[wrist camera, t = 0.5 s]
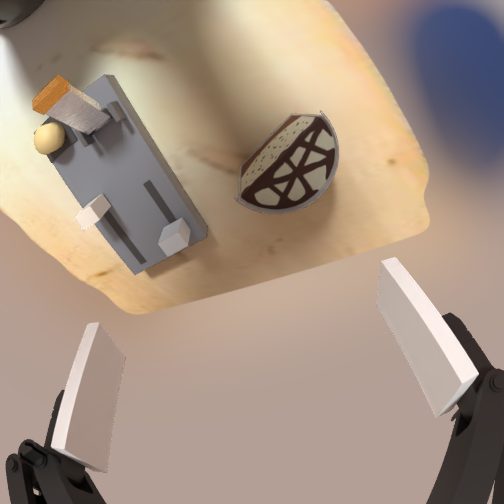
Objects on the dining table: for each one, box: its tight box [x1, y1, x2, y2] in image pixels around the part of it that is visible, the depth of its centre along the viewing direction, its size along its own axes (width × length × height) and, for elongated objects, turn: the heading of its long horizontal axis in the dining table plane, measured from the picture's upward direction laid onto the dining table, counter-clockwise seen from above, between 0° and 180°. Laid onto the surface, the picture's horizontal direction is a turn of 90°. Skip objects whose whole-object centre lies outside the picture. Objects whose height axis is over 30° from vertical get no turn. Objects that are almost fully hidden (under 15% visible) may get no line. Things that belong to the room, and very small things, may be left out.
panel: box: [34, 74, 208, 275], centre depth 31 cm, size 24×12×5 cm, turn 27°
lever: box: [33, 75, 114, 137], centre depth 22 cm, size 1×4×10 cm
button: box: [34, 122, 65, 155], centre depth 25 cm, size 4×4×2 cm
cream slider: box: [75, 194, 111, 231], centre depth 30 cm, size 2×3×4 cm
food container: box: [234, 110, 339, 214], centre depth 30 cm, size 12×6×10 cm, turn 137°
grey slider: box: [158, 217, 191, 257], centre depth 33 cm, size 2×3×4 cm
